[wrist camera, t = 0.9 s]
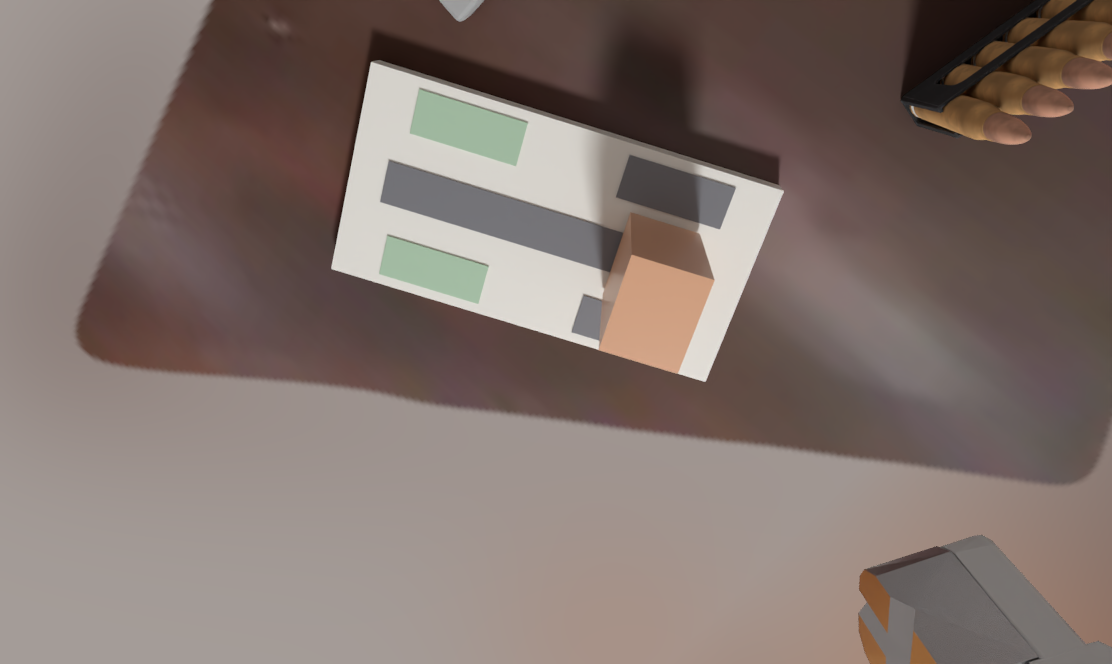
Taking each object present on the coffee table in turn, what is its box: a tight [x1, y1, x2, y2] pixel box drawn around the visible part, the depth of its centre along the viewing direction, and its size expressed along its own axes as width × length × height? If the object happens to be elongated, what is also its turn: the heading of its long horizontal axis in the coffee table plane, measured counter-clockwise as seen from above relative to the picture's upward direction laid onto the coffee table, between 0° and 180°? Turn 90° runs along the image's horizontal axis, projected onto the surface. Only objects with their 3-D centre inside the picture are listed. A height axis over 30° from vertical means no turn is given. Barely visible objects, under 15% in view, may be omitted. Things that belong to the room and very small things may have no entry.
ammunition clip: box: [901, 0, 1112, 144], centre depth 36 cm, size 11×2×12 cm, turn 129°
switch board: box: [331, 60, 784, 382], centre depth 46 cm, size 12×23×2 cm, turn 74°
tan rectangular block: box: [599, 212, 715, 374], centre depth 42 cm, size 5×4×8 cm
